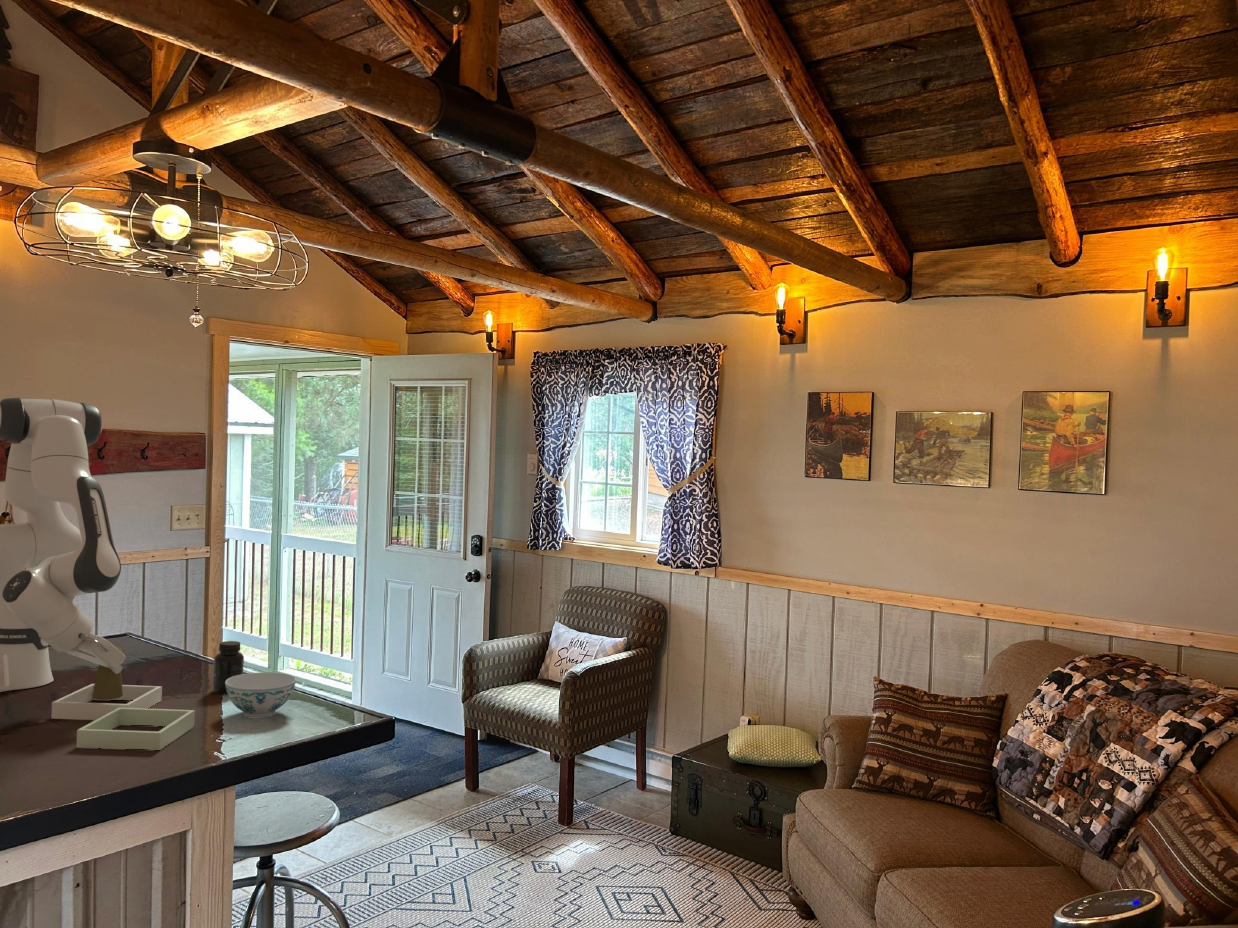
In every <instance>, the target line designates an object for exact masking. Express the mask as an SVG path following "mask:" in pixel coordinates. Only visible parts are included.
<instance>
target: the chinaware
mask: <svg viewBox="0 0 1238 928" xmlns="http://www.w3.org/2000/svg"><path fill="white" fill-rule="evenodd" d="M296 683H297V677H295V676H293V675H291V674H288V673H283V672H267V671H266V672H250V673H249V672H248V673H243V674H242V675H237V676H233V677H231V678H229V679H227V680H226V681H225V686H226V691H227V694H226V695H227V696H228V698H229V700H230V702H231V703H232V704H233V706H234V707H235V708H237V709H238V710H240V711H241V712H243V716H244V717H246V718H250V719H263V718H269V717H272V716H274V715H275V714H276V711H277V710H278V709H280V708H281V707H282V706H283V705H284V704H285V703H286V702H287V701H288V700H289V699H290V697H291V696H292V693H293V691H294V689H295V687H296Z"/></svg>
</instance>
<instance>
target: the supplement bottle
mask: <svg viewBox="0 0 1238 928" xmlns="http://www.w3.org/2000/svg"><path fill="white" fill-rule="evenodd" d="M218 646H219V647H218V651H219V652H218V653H216V654H215V656H214V658H213V669H212V670H213V671H212V673H213V674H212V691H213V693H215V694H216V695H228V694H227V691H226V686H225V681H226V680H227V679H229V678H231V677H233V676H237V675H242V674H244V665H245V657H244V654H243V653H241V652H240V651H241V642H240V641H237V640H228V641H227V640H225V641H221V642H219V645H218Z"/></svg>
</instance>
